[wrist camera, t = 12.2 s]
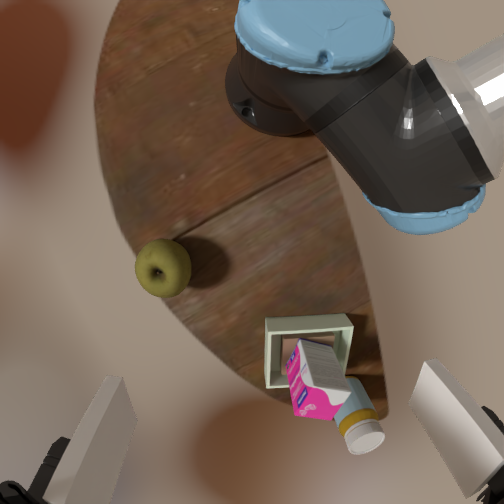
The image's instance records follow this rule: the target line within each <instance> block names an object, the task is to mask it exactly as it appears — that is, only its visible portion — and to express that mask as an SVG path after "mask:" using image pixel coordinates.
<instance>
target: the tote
mask: <svg viewBox="0 0 504 504" xmlns="http://www.w3.org/2000/svg"><path fill="white" fill-rule="evenodd" d="M353 328H354V326H353V324H352V323H351V321H350V320H349V319H348V317H347V316H346V314H345V313H340V314H325V315H308V316H288V317H265V368H264V373H265V381H266V388H283V387H289V382H288V377H287V374H286V375H282V374H281V369H280V346H281V334H296V333H312V332H326V331H333V333H334V335H335V339H334V346H333V351H334V353H335V356H336V358H337V360H338V362H339V364H340V367H341V369H342V371H343V373H344V376H345V371H346V366H347V361H348V356H349V351H350V345H351V340H352V334H353Z"/></svg>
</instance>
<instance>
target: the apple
mask: <svg viewBox="0 0 504 504" xmlns="http://www.w3.org/2000/svg"><path fill="white" fill-rule="evenodd" d="M135 272H136V276H137V279H138V281H139V283H140V284H141V286H142V287H143V288H144V289H145V290H146V291H147V292H149V293H150V294H152V295H154V296H157V297H161V298H170V297H174V296H176V295H178V294H180V293H181V292H182V291H183V290H184V289H185V288H186V286H187V285H188V283H189V280H190V277H191V260H190V257H189V254H188V252H187V251H186V250H185V248H184V247H183V246H181V245H180V244H178V243H177V242H174V241H172V240H169V239H157V240H154V241H151V242H150V243H148V244H147V245H145V246H144V247H143V249H142V250H141V251H140V253H139V254H138V256H137V259H136V262H135Z"/></svg>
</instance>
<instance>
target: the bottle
mask: <svg viewBox="0 0 504 504" xmlns="http://www.w3.org/2000/svg"><path fill="white" fill-rule="evenodd" d="M345 378H346V380H347V382H348V385H349V387H350V389H351V394H350V395H349V397H348V398H347V399H346V401H345V402H344V404H343V405H342V406H341V408H340V409H339V410H338V412H337V413H336V414H335V416H334V418H335V421H336V424H337V426H338V429H339V431H340V433H341V435H342V436H343V437H345V440H346V444H347V446H348V449H349V451H350V452H351V453H352V454H364V453H367V452H370V451H372V450H373V449H375V448H377V447H378V446H379V445H380V444H381V443H382V442H383V441H384V439H385V434H384V432H383V430H382V428H381V426H380V424H379V422H378V415H377V412H376V410H375V408H374V406H373V405H372V403H371V401H370V399H369V397H368V395H367V393H366V391H365V389H364V388H363V386H362V384H361V382H360V380H359V379H358V378H356V377H354V376H345Z"/></svg>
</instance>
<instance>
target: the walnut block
mask: <svg viewBox="0 0 504 504" xmlns="http://www.w3.org/2000/svg"><path fill="white" fill-rule="evenodd" d="M299 338H304V339H308V340H311V341H315V342H319V343H323V344H327V345H331V347H332V349H333V346H334V339H335V335H334V333H333V331H326V332H312V333H296V334H281V346H280V369H281V374H282V375H286V374H287V371H286V366H285V365H286V364H287V362H288V360H289V358H290V357H291V355H292V353H293V351H294V349H295V347H296V345H297V342H298V340H299Z"/></svg>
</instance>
